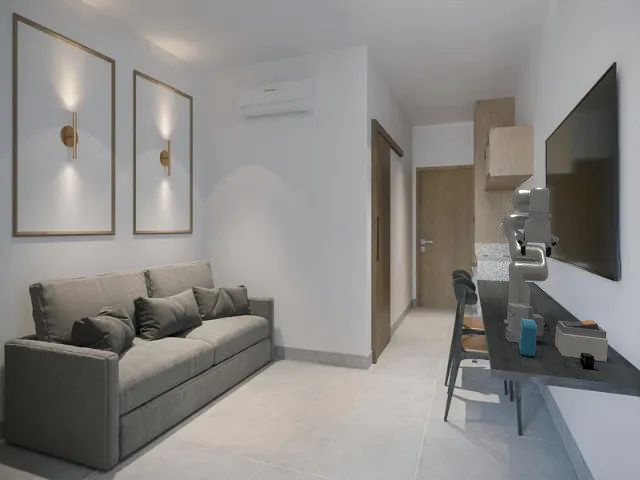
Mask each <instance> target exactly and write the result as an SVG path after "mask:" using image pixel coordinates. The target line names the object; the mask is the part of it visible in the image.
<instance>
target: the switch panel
mask: <svg viewBox="0 0 640 480" xmlns="http://www.w3.org/2000/svg"><path fill="white" fill-rule="evenodd" d="M565 322H567V321H565V320H557V325H556V326H555V338H554V346H555V347H556V348H558V349H557V350H558V351H559V353H560V354H561V356H562V357H568V358H569V357H570V358H577V359H580V355H581V353H590V354H591V355H593V356H594V361H600V362H607V358H608V346H609V345H608V344H609V340H608V338H607V331H606V330H605V329H603V328H602V327H601V326H599V325H598V328H594V329H582V328H573V327H567V326H566V325H565V324H564V323H565Z"/></svg>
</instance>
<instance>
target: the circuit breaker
mask: <svg viewBox="0 0 640 480" xmlns="http://www.w3.org/2000/svg"><path fill="white" fill-rule="evenodd" d="M506 308H507V309H506V314H507V316H509V323H508V324H507V326H505V339H506V340H507V341H508V342H509V343H514V342H517V344H519V337H520V322H521V318H522V319H531V320H534V321H535V323H536V325H537V333H536V337H544V330H545V329H544V328H545V327H546V328H547V326H548V324H547V323H545V317H543V316H542V315H540V314H539V313H534V307H533V306H531V305H530V306H529V305H527V304H514V303H507V307H506Z"/></svg>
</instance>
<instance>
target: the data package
mask: <svg viewBox="0 0 640 480" xmlns="http://www.w3.org/2000/svg"><path fill="white" fill-rule="evenodd" d="M536 333H537V325H536V323H535V321H534V320H531V319H522V318H521V322H520V337H519V343H518V348H519V352H520V355H521V356H525V357H532V356H533V358H534V357H535V356H536V345H537V336H536Z"/></svg>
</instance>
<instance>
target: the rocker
mask: <svg viewBox="0 0 640 480" xmlns="http://www.w3.org/2000/svg"><path fill="white" fill-rule="evenodd" d="M564 324H565V325H566V326H567V327H573V328H582V329H594V328H598V326H599V324H598V323H597V322H595V321H594V320H592V319H590V320H589V319H588V320H580V321H566V322H565V323H564Z"/></svg>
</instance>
